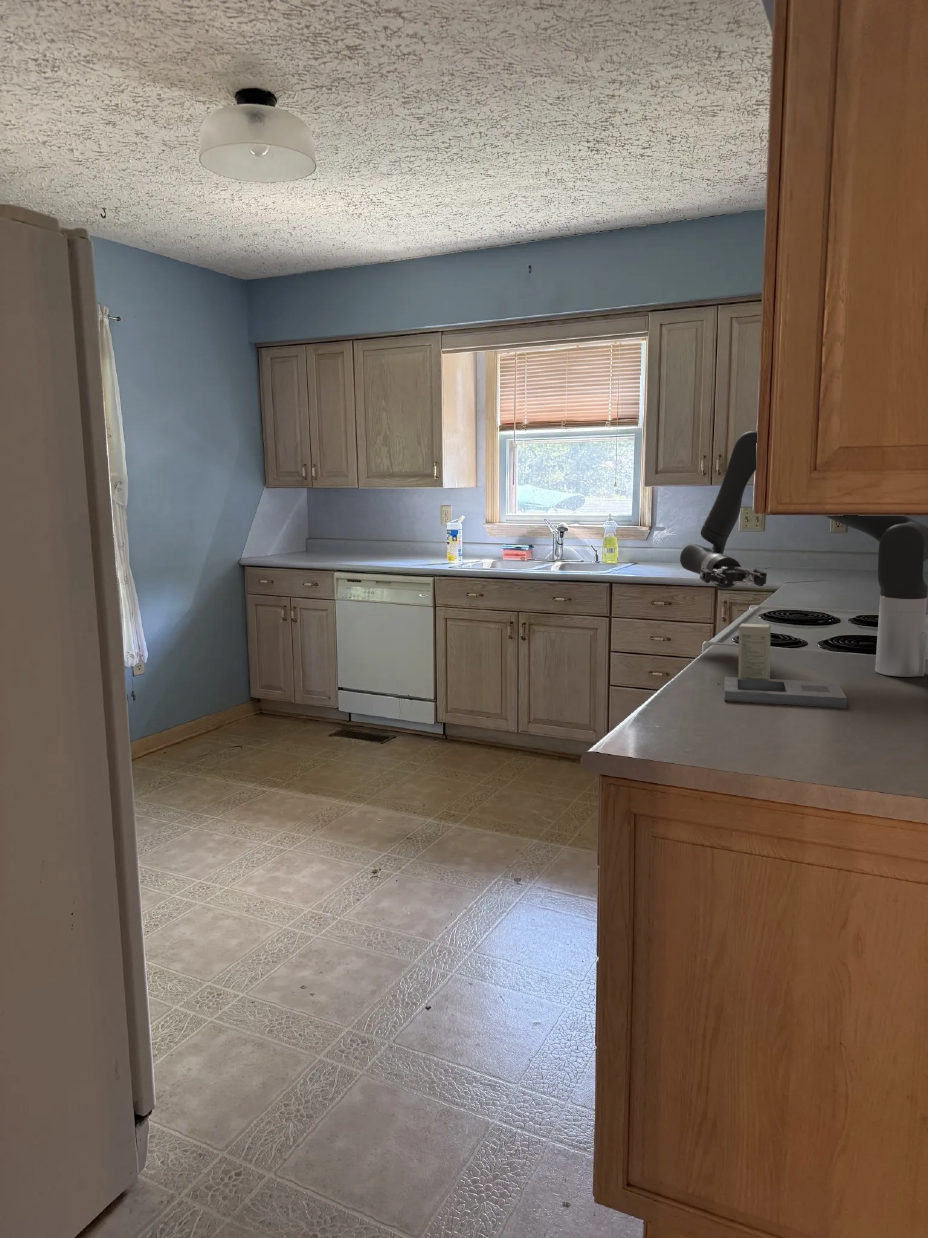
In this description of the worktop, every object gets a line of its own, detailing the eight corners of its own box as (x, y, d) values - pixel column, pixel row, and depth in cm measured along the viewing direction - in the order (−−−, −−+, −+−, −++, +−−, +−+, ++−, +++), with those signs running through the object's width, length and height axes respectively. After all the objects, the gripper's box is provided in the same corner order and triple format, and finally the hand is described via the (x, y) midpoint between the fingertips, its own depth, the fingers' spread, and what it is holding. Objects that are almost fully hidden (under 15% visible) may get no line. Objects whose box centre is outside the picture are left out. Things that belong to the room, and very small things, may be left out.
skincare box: (770, 679, 183) (772, 624, 181) (768, 683, 179) (770, 627, 177) (739, 677, 185) (741, 622, 184) (736, 681, 182) (738, 625, 180)
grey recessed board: (837, 692, 171) (838, 682, 171) (846, 708, 159) (846, 698, 158) (724, 686, 177) (724, 676, 177) (724, 701, 165) (724, 691, 165)
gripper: (692, 554, 204) (713, 564, 188) (751, 555, 204) (776, 565, 189) (690, 584, 206) (710, 597, 190) (748, 585, 206) (772, 598, 190)
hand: (743, 581), depth 189 cm, fingers open, 8 cm apart
